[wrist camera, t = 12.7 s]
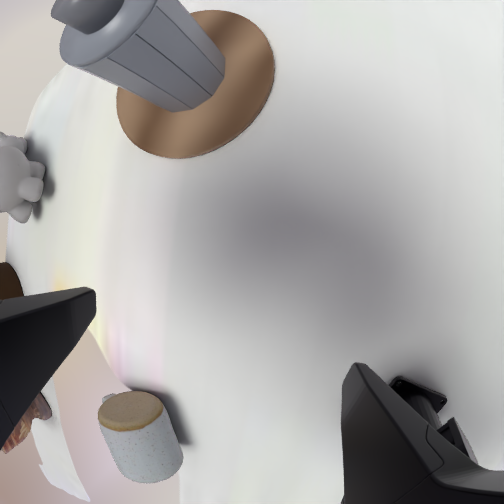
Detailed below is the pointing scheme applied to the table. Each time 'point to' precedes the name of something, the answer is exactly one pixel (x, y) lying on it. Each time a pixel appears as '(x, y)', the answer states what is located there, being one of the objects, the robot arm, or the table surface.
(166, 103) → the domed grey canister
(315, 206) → the table surface
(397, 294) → the table surface
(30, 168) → the chubby cartoon animal
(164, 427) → the ceramic mug
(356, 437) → the robot arm
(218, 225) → the table surface
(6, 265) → the olive oil
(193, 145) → the cheese board
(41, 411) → the mortar and pestle
